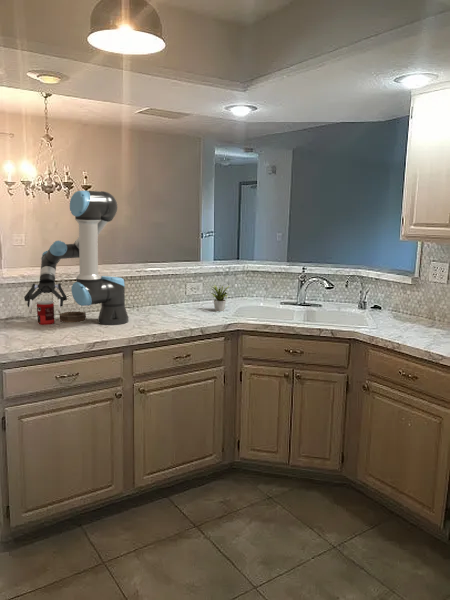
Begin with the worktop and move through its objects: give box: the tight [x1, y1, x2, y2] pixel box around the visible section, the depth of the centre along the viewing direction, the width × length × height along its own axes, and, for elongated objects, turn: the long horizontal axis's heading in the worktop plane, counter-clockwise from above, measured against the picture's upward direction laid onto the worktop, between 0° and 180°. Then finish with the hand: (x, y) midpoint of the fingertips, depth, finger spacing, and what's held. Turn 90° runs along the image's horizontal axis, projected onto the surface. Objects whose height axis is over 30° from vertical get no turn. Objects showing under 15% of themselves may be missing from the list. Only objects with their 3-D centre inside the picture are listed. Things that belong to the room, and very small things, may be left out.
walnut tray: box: [59, 311, 87, 324], centre depth 259 cm, size 13×13×3 cm
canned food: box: [36, 300, 55, 326], centre depth 249 cm, size 8×8×11 cm
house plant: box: [209, 284, 230, 312], centre depth 287 cm, size 14×14×16 cm
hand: (44, 311), depth 248 cm, fingers open, 13 cm apart
